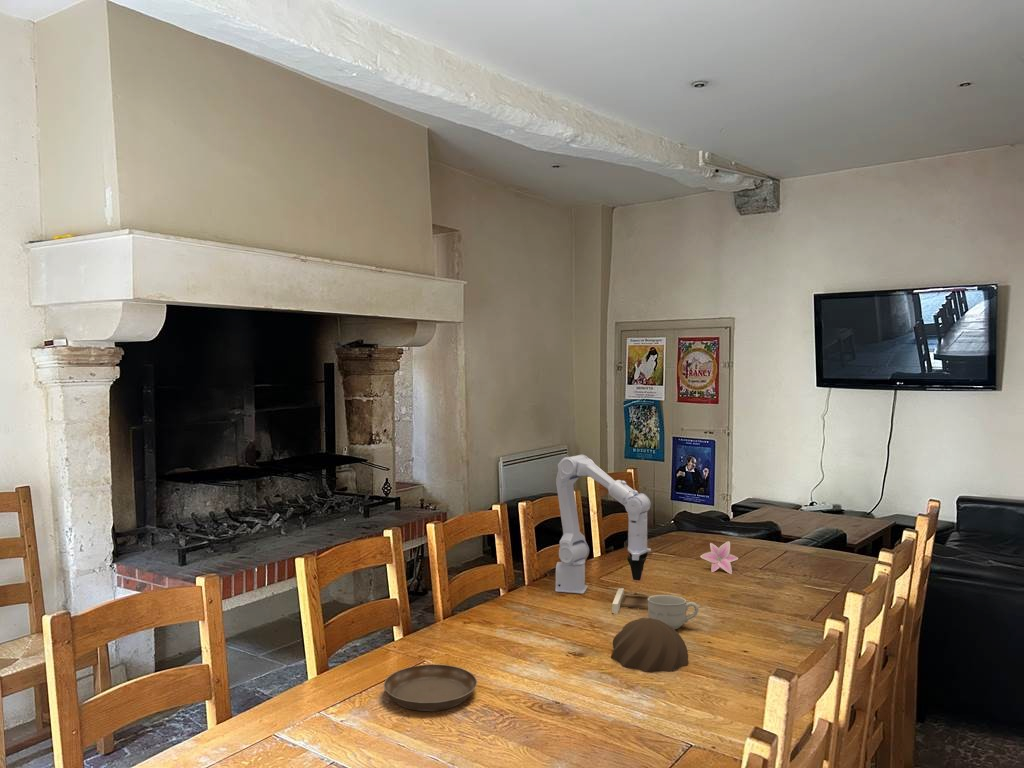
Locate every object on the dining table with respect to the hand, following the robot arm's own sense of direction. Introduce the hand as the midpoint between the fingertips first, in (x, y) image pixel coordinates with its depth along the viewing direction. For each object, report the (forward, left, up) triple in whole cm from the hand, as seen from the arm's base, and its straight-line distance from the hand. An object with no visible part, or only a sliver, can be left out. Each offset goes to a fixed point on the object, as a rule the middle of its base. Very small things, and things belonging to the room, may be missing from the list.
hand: (637, 577), depth 230 cm
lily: (+25, +46, -8) cm, 53 cm away
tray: (0, 0, -8) cm, 8 cm away
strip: (-6, -3, -8) cm, 10 cm away
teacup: (+11, -18, -8) cm, 23 cm away
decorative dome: (+7, -41, -9) cm, 42 cm away
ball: (0, 0, 0) cm, 0 cm away
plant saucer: (-39, -76, -9) cm, 86 cm away
